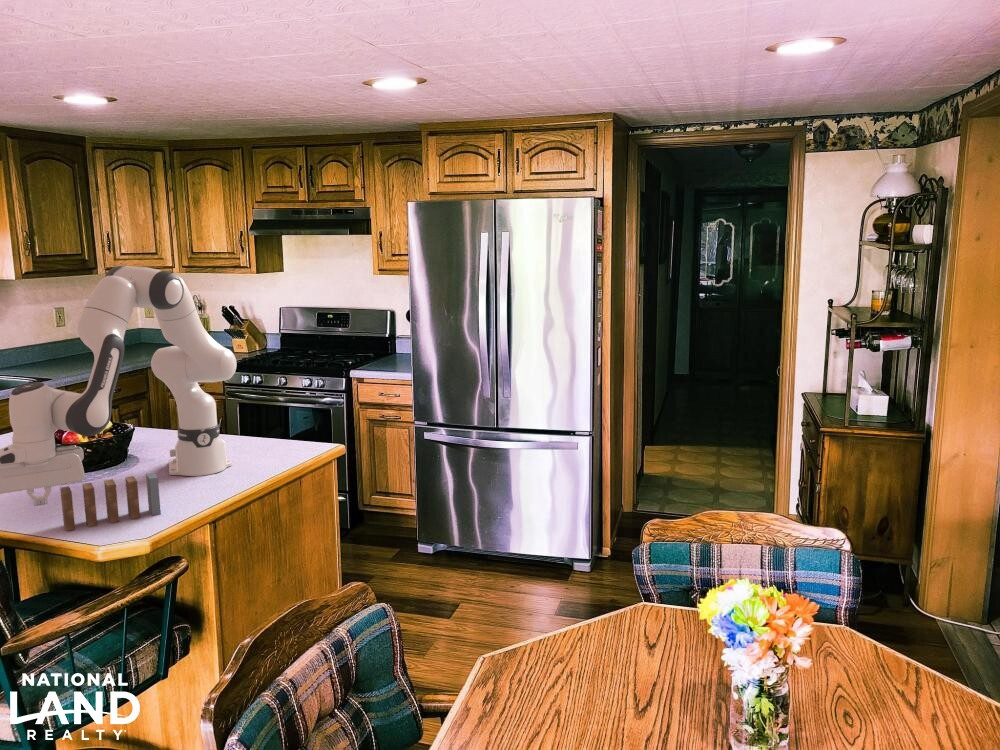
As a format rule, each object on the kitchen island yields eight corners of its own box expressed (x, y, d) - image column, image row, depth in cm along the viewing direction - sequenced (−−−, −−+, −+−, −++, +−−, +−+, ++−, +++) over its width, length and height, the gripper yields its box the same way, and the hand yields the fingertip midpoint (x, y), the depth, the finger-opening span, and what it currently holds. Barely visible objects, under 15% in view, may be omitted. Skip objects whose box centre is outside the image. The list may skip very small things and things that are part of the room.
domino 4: (131, 519, 206) (128, 482, 204) (128, 513, 210) (125, 477, 208) (140, 517, 207) (137, 480, 205) (136, 512, 211) (133, 475, 209)
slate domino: (152, 515, 208) (149, 478, 207) (148, 510, 213) (145, 474, 211) (160, 514, 210) (157, 477, 208) (156, 508, 214) (153, 472, 212)
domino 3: (110, 523, 203) (107, 485, 201) (107, 517, 207) (104, 480, 205) (119, 521, 204) (115, 484, 202) (115, 516, 208) (112, 479, 206)
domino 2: (88, 527, 200) (85, 489, 198) (86, 521, 204) (82, 483, 203) (97, 525, 201) (94, 487, 200) (94, 519, 205) (91, 482, 204)
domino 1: (66, 531, 198) (62, 492, 196) (64, 525, 202) (60, 487, 200) (75, 529, 199) (71, 491, 197) (72, 523, 203) (69, 485, 201)
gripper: (81, 441, 202) (86, 493, 204) (-15, 453, 190) (-9, 508, 193) (84, 446, 196) (89, 500, 199) (-14, 459, 185) (-8, 516, 188)
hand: (40, 504), depth 196 cm, fingers closed
